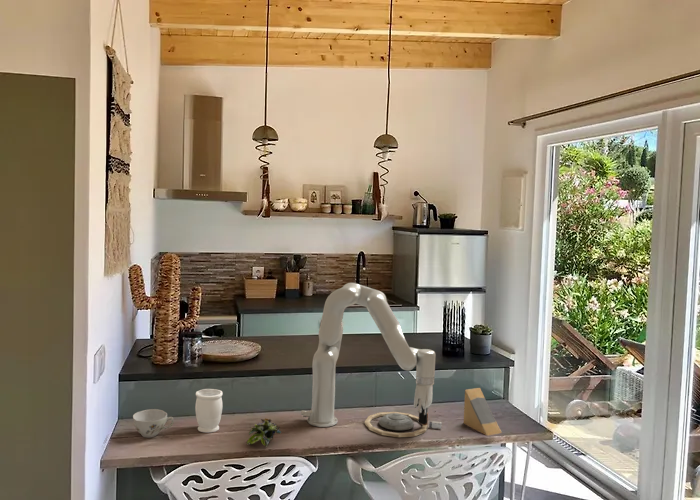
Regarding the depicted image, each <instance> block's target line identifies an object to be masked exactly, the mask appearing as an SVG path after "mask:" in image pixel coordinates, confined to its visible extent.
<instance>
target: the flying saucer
mask: <svg viewBox="0 0 700 500" xmlns="http://www.w3.org/2000/svg"><path fill="white" fill-rule="evenodd" d="M378 424H379V426H380V427H382V428H385V429H386V430H390V431H397V432H398V431H400V432H401V431H408V430H411V429H413V428H414V426H415V423H414V421H413V419H411V418H409V417H408V416H406V415H403V414H399V413H391V414H387V415H385V416H381V417H380V418H379V420H378Z"/></svg>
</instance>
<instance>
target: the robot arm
mask: <svg viewBox="0 0 700 500" xmlns="http://www.w3.org/2000/svg"><path fill="white" fill-rule="evenodd" d="M387 300H388V299H387V296H386V294H385V293H384V292H383V291H380V290H378V289H375V288H371V287H368V286H366V285H362V284H359V283H357V282H356V283H355V282H348V283H346V284H344V285H343V286H342V287H341V288H340V287H339V288H337V289H335V290H333V291H332V292H331V293H330V294H328V296H327V298H326V300H325V302H324V305H323V311H322V316H321V320H320V326H319V330H318V339H319V340H318V346H317V350H316V351H315V352H314V354H313V357H312V367H311V368H312V389H311V390H312V395H311V409H310V410H301V411H300V415H301V416H302V417H303V418H307V423H308V424H309V425H311V426H314V427H318V428H329V427H333V426H335V425H337V424H338V418H337V417H336V416H335V403H336V401H335V400H336V397H335V396H336V367H337V365H336V364H337V362H338V359H339V356H340V350H341V344H342V338H343V332H344V329H343V325H342V323H343V318H344V312H345V310H346V309H347V308H349V307H350V306H353V305H359V306H362V307H364V308H366V309H367V311H368V313H369V314H370V317H371V318H372V320H373V322H374V323H375V325H376V327H377V328H378V330H379V332H380V334H381V336H382V338H383V340H384V341H385V343H386V345H387V347H388V349H389V352H390V353H391V355H392V357H393V358H394V359H395V361H396V363H397V365H398V366H399V367H400V368H401V369H402V370H404V371H411V370H413V369H414V368H415V369H416V370H415V371H416V372H415V373H416V374H415V384H416V386H415V389H414V391H415V392H414V399H413V408H414V409H415V408H417V413H418V417H419V421H418V423H419V424H421V425H422V424H426V423H427V416H428V417H429V407H430V406H431V405H432V404H433V398H434V397H433V393H434V392H433V391H434V390H433V385H435V375H436V374H435V371H436V356H437V355H436V352H435V350H432V349H430V348H429V349H428V348H422V349H421V348H415V347H412V346H409V344H408V342H407V340H406V338H405V336H404V333H403V330H402V327H401V324H400V322H399V320H398V319H397V316H396V315H395V314H394V312H393V310H392V309H391V306H390V305H389V303H388V301H387ZM426 413H428V414H426Z"/></svg>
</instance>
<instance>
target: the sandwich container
mask: <svg viewBox="0 0 700 500" xmlns="http://www.w3.org/2000/svg"><path fill="white" fill-rule="evenodd" d="M463 406H464V407H463V424H464V425H466V426H467V427H470V428H471V429H473V430H475V431H477V432H479V433H481V434H483V435H485V436H487V437H488V436H489V437H490V436H494V435H499V434H502V433H503V432H502V430H501V428H500V426H499V425H498V422H497V420H496V418H495V417H494V415H493V412H492V410H491V408H490V406H489V404H488V402H487V400H486V397H485V396H484V393H483V391H482V389H481V387H474V388H468V389H465V390H464V404H463Z"/></svg>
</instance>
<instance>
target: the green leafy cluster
mask: <svg viewBox="0 0 700 500" xmlns="http://www.w3.org/2000/svg"><path fill="white" fill-rule="evenodd" d="M260 421H261V422H258V423H257V424H256V423H254V427H250V428H251V429H250V430H249V432H248V435H251V434H252V435H251V436H250V437H248V439H247V442H246V444H247V445H253V444H255V443H257V442H259V441H261V444H262V445H263V446H265V449H267V448H268V445H269V442H270V441H271V440H272V439H274V435H275V434H281V433H282V431H281V430H280V426H278V425H277V423H274V422H272V419H271V418H270V419H269V418H261V419H260Z"/></svg>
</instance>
